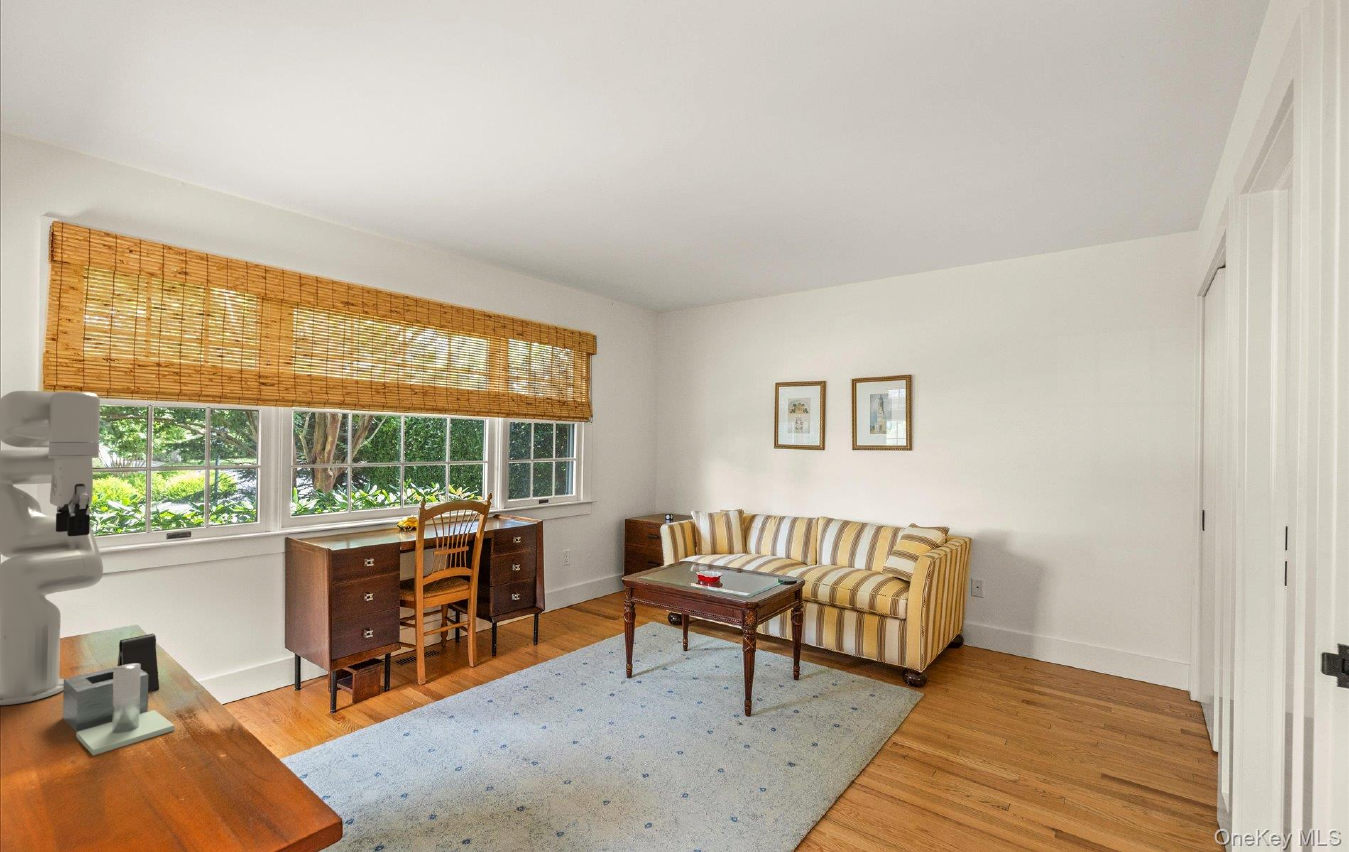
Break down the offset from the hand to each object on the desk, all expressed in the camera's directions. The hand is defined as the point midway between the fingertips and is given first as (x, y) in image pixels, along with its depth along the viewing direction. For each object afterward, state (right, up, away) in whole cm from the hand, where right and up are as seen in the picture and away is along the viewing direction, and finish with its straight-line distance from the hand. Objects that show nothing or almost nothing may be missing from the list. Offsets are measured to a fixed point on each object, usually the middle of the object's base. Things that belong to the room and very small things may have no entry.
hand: (72, 533), depth 128 cm
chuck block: (+6, -38, +1) cm, 39 cm away
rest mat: (+18, -38, -7) cm, 43 cm away
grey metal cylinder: (+17, -37, -7) cm, 42 cm away
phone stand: (+1, -39, +14) cm, 41 cm away
